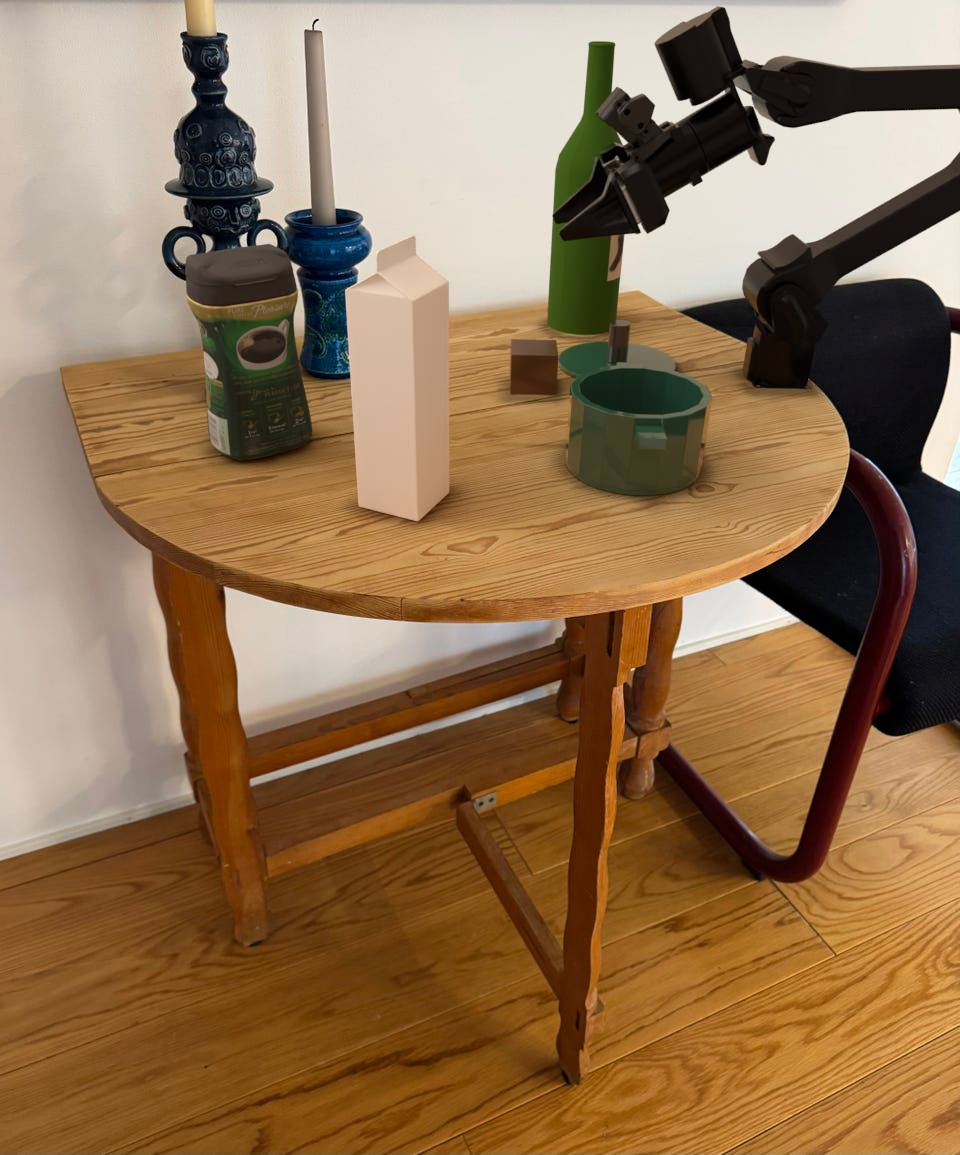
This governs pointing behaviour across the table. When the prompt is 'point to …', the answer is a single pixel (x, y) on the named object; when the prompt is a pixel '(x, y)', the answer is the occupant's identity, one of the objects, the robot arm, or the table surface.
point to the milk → (400, 383)
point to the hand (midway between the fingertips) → (557, 227)
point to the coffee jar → (249, 350)
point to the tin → (637, 429)
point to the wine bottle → (576, 266)
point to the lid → (612, 353)
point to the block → (533, 367)
